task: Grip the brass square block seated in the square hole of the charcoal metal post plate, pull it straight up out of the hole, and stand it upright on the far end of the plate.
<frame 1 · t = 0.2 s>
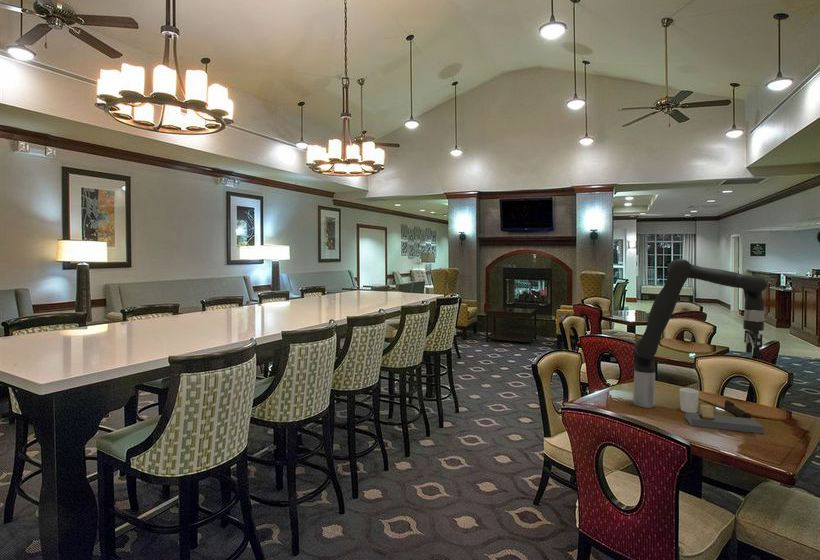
hand: (752, 354, 206), 29 cm above the table, tool pointing down, fingers open, 8 cm apart
hand tool: (734, 415, 210), on the table
brass block: (706, 424, 196), resting in post plate
post plate: (722, 425, 194), on the table
white cup: (688, 411, 214), on the table
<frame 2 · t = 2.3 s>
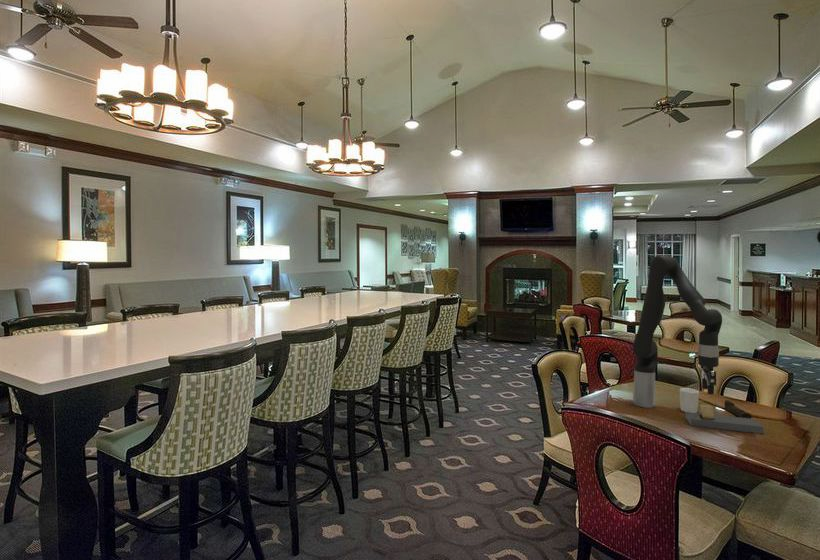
hand: (707, 391, 196), 15 cm above the table, tool pointing down, fingers open, 8 cm apart
nothing on the table moved.
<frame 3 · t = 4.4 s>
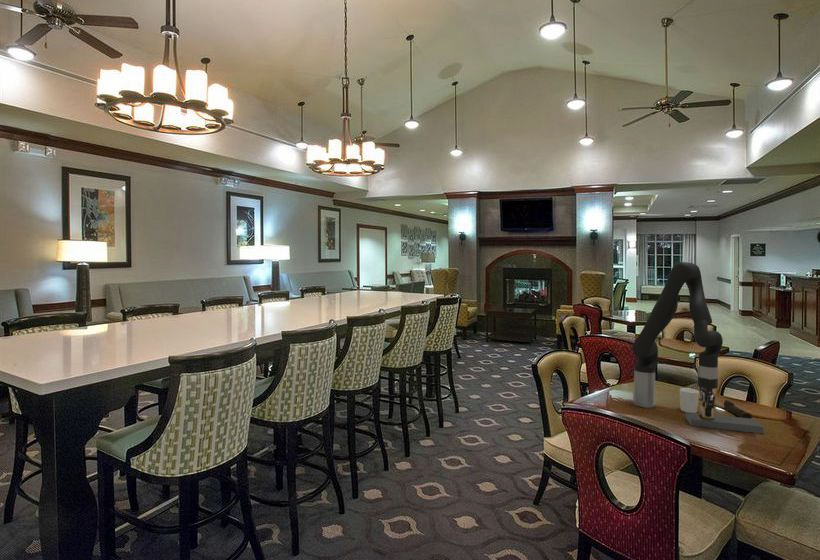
hand: (706, 414, 196), 4 cm above the table, tool pointing down, fingers closed on brass block, 4 cm apart
brass block: (706, 424, 196), resting in post plate, touching gripper
everything else where it was.
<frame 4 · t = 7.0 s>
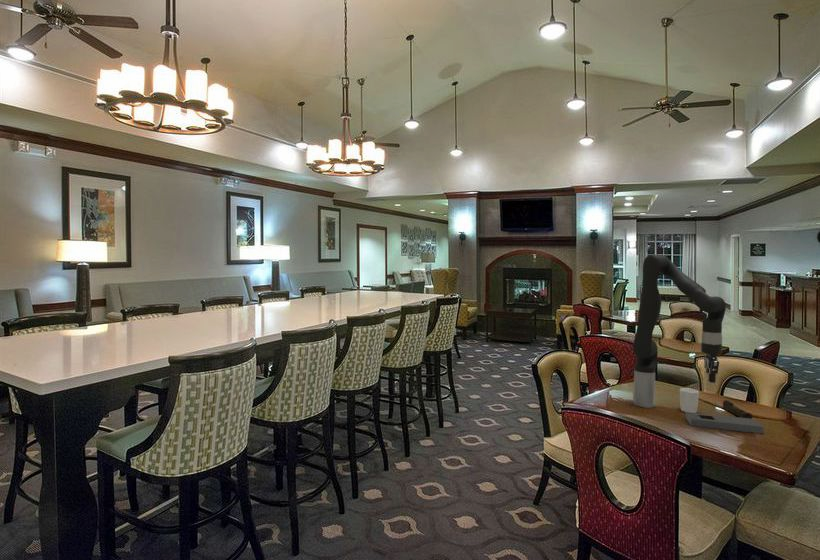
hand: (710, 380, 195), 19 cm above the table, tool pointing down, fingers closed on brass block, 4 cm apart
brass block: (710, 390, 195), point 15 cm above the table, touching gripper
everything else where it was.
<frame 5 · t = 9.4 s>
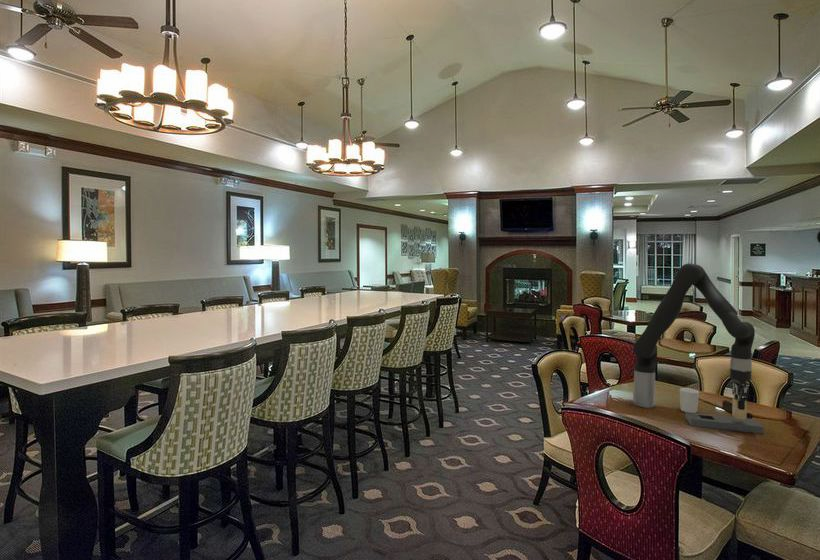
hand: (739, 407, 192), 9 cm above the table, tool pointing down, fingers closed on brass block, 4 cm apart
brass block: (739, 417, 192), point 4 cm above the table, touching gripper
everything else where it was.
when the fingers open (9 cm above the table, at t = 9.9 s): brass block drops 1 cm, resting on post plate.
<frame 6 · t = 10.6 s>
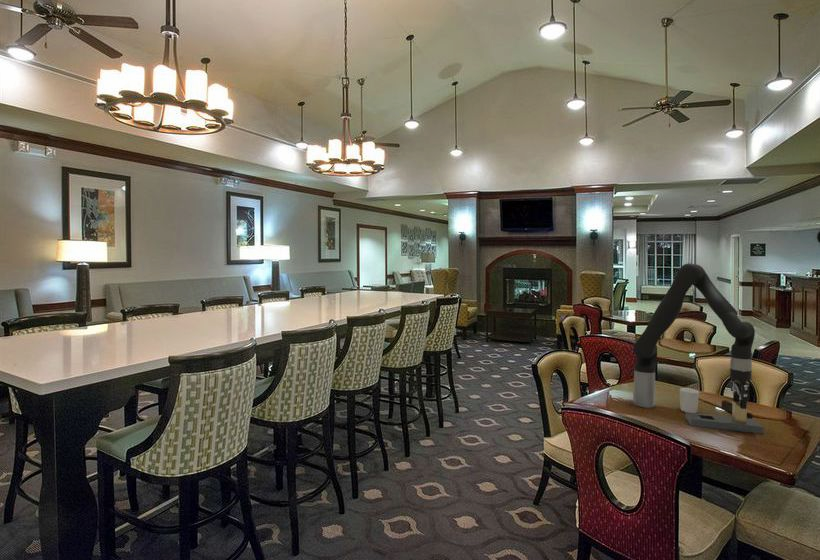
hand: (739, 405, 192), 10 cm above the table, tool pointing down, fingers open, 8 cm apart
brass block: (739, 420, 192), point 3 cm above the table, touching post plate
everything else where it was.
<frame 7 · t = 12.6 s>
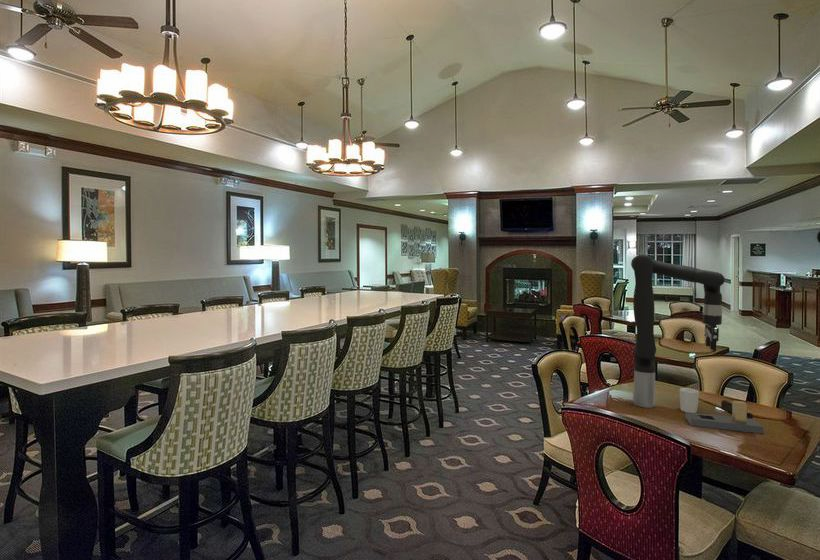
hand: (710, 347, 212), 31 cm above the table, tool pointing down, fingers open, 8 cm apart
nothing on the table moved.
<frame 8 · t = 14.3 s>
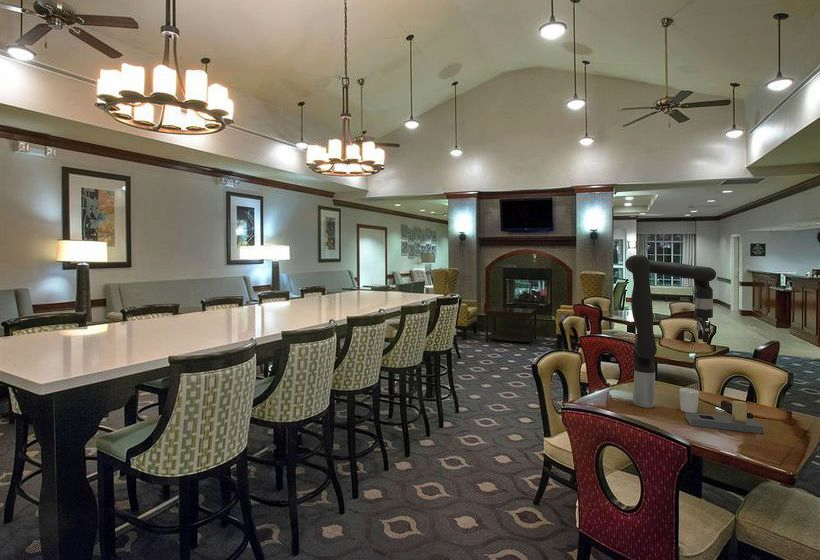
hand: (702, 340, 218), 33 cm above the table, tool pointing down, fingers open, 8 cm apart
nothing on the table moved.
at the end: brass block inside the target area (0.0 cm from its centre), point 3.0 cm above the table; brass block tilted 0°; the gripper is holding nothing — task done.
